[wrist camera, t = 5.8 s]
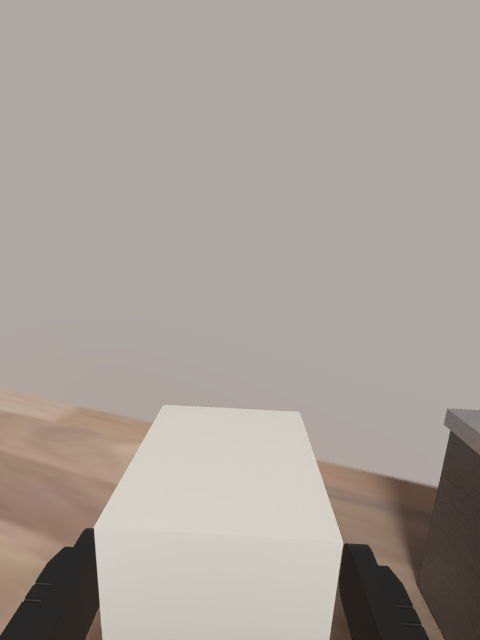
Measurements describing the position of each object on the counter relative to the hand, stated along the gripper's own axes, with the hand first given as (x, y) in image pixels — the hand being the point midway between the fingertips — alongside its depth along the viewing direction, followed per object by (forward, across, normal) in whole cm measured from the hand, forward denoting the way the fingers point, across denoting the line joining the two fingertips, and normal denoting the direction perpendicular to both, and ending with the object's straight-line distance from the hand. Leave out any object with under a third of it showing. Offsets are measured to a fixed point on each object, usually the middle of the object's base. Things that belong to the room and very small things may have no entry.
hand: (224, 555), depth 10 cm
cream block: (-1, 0, +6) cm, 7 cm away
